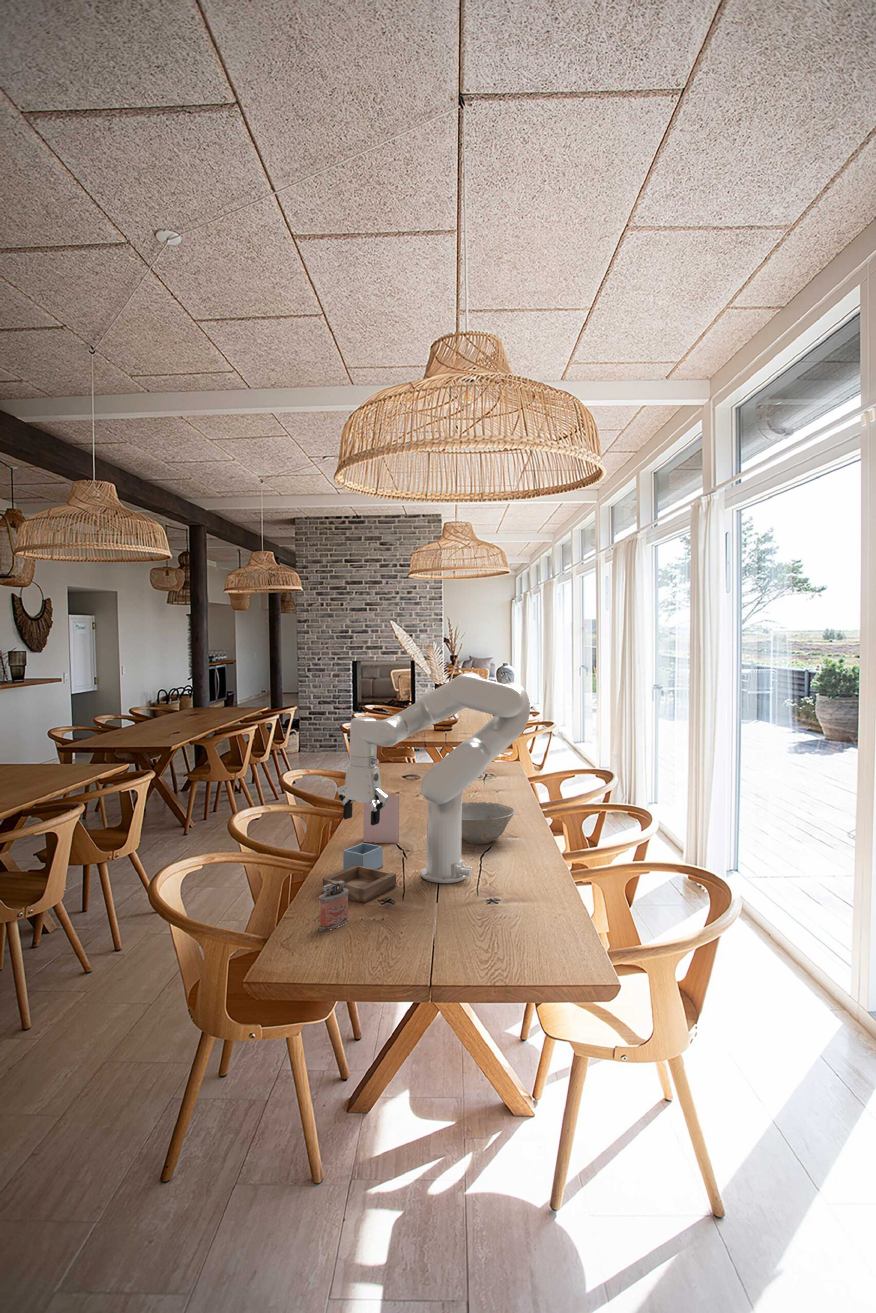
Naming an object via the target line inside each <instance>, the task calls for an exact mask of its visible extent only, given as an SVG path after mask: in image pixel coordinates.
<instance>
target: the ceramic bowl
mask: <svg viewBox="0 0 876 1313" xmlns="http://www.w3.org/2000/svg"><path fill="white" fill-rule="evenodd" d="M514 815H515V808H513V807H511V806H508V805H506V804H503V803H498V802H489V801H487V802H486V801H479V802H477V801H471V802H470V801H469V802H466V801H465V802H463V801H462V839H463V840H465V841H467V842H468V843H470V844H473V845H486V844H488V843H491V842H493V841H495V840H497V839H498V838H500V837H501V835H502V834H503V833H504V832H505V829H506V828H507V825H508V823H509V822H510V821H511V819H512V818H513V816H514Z"/></svg>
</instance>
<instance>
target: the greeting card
mask: <svg viewBox="0 0 876 1313" xmlns="http://www.w3.org/2000/svg"><path fill="white" fill-rule="evenodd" d="M385 794H386V795H387V796H388V799H387V801H386V803H385V806H384V807H383V808H382V809H381V810H380V821H379V824H376V825H371V811H373V809H372V808H371V806H370V804H369V803H363V813H362V814H363V818H362V819H363V821H362V822H363V827H362V828H363V830H362V831H363V832H362V833H363V835H362V836H363V837H362V838H363V842H374V843H381V844H383V843H385V844H386V843H387V844H388V843H389V844H390V843H391V844H393V843H395V844H396V843H397V844H399V843H400V795H394V794H389V793H385ZM380 800H381V799H380ZM380 800H379V802H380ZM374 804H375V803H374ZM363 842H362V843H363Z"/></svg>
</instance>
